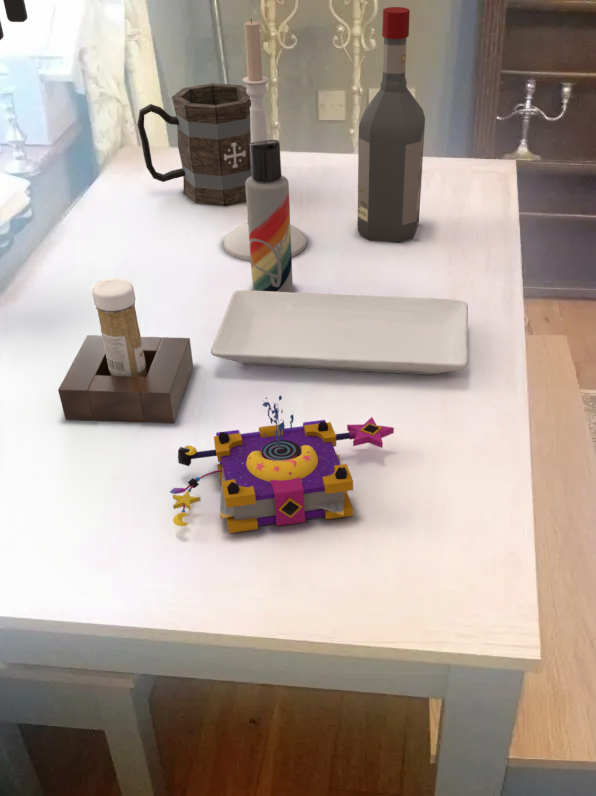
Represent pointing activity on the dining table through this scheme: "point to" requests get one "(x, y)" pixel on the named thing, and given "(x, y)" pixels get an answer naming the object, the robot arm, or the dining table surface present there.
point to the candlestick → (256, 140)
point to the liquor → (391, 145)
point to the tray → (344, 332)
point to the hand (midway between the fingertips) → (6, 30)
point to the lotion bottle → (269, 219)
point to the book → (279, 473)
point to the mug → (208, 142)
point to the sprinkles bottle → (120, 327)
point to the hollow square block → (127, 383)
